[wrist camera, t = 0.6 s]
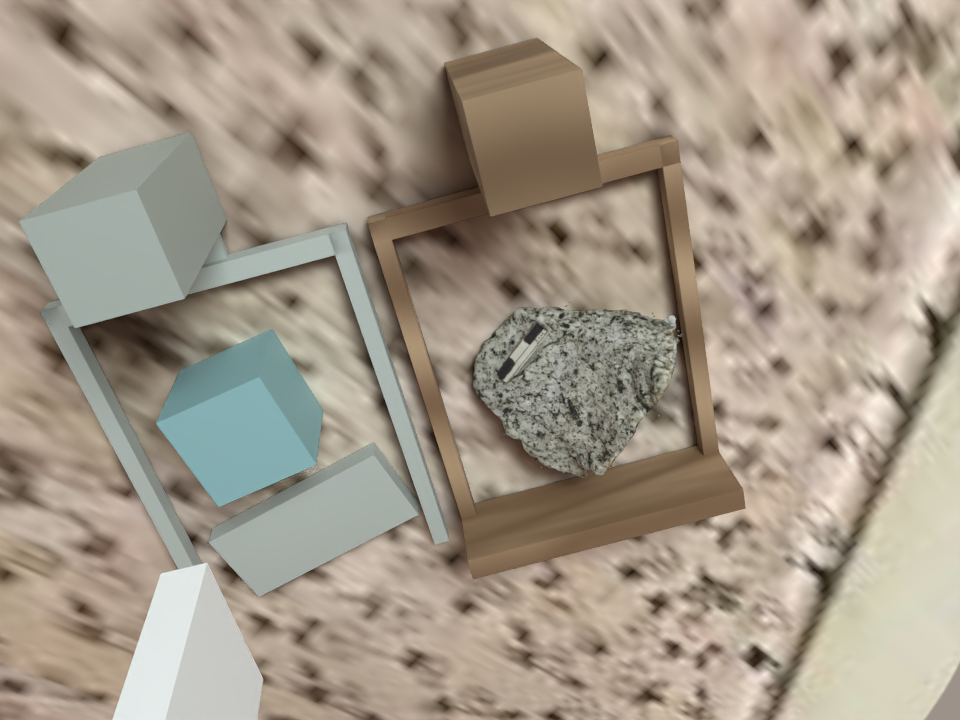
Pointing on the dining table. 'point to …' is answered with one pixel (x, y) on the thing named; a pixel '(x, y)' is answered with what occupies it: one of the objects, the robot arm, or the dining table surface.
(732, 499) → the brown open frame
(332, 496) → the grey rectangular block
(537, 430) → the rock sample
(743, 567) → the dining table surface
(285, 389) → the teal block
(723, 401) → the dining table surface
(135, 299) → the grey open frame
